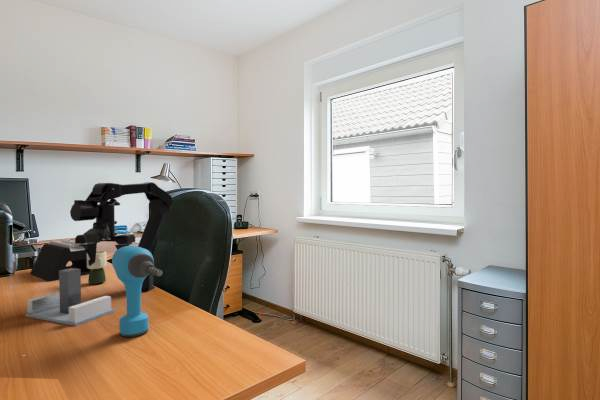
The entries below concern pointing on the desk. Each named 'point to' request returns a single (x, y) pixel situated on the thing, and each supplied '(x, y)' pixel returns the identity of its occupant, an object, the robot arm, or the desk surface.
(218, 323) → the desk surface
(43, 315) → the vise base
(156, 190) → the robot arm
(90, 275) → the character mug
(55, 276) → the device stand
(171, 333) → the desk surface
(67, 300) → the steel block
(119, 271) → the power drill
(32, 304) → the bar
